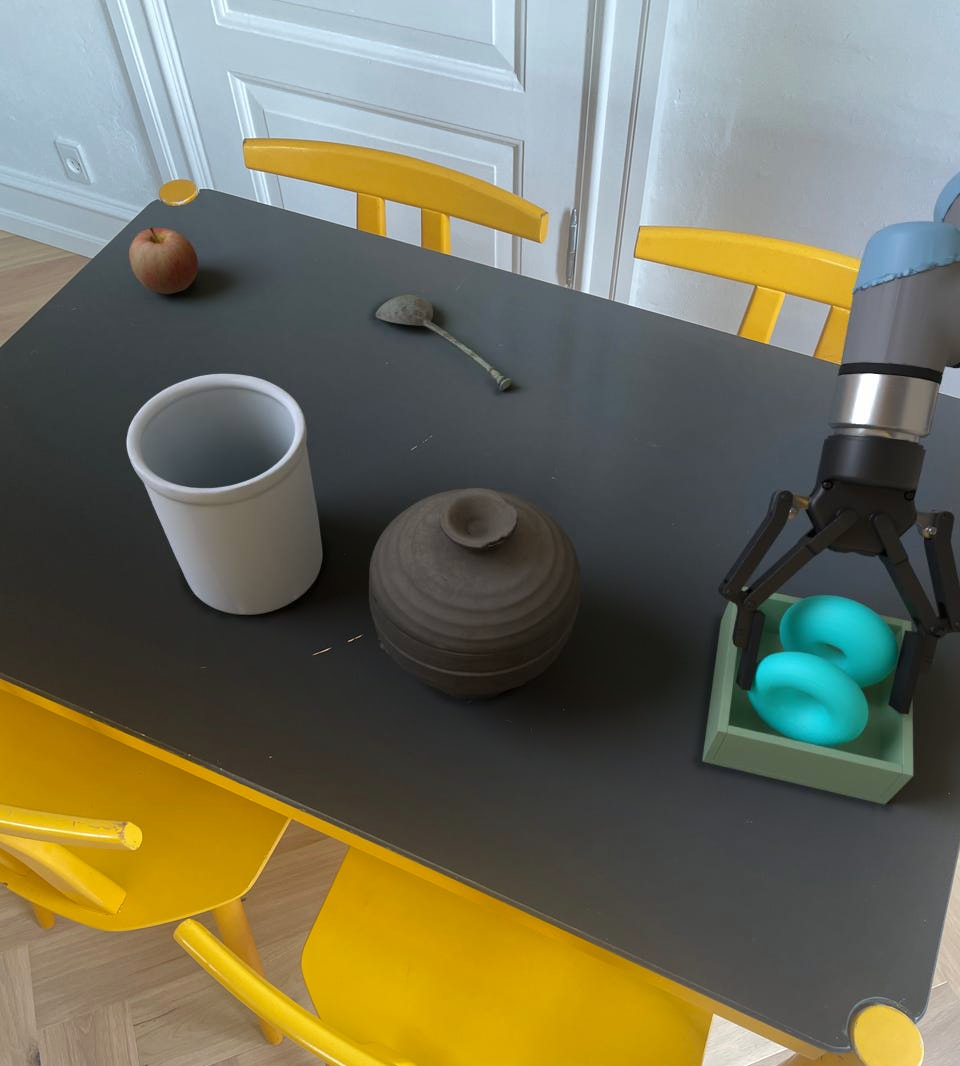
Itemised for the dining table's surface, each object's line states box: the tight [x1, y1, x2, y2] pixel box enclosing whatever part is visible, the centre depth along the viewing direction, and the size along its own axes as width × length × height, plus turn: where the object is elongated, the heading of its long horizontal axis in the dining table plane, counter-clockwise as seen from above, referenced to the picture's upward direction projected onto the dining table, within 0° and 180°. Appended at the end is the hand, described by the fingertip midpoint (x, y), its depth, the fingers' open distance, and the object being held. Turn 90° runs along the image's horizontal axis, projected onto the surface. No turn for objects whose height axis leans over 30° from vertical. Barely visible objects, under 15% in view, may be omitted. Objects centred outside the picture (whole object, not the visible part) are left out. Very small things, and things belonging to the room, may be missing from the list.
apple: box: [128, 226, 199, 295], centre depth 111 cm, size 8×8×8 cm
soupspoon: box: [375, 294, 512, 391], centre depth 107 cm, size 22×3×7 cm
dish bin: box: [702, 586, 914, 805], centre depth 78 cm, size 16×16×6 cm
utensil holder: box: [126, 373, 323, 616], centre depth 82 cm, size 15×15×18 cm
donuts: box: [747, 594, 898, 747], centre depth 76 cm, size 10×10×10 cm
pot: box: [368, 487, 581, 701], centre depth 76 cm, size 18×18×20 cm
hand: (820, 698), depth 75 cm, fingers closed on donuts, 12 cm apart
